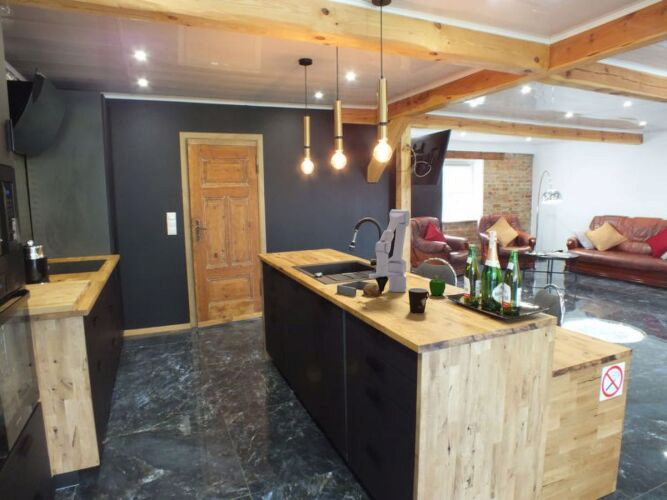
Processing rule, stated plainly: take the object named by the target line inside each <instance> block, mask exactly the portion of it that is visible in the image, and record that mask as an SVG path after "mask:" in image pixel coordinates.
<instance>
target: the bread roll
mask: <svg viewBox="0 0 667 500" xmlns="http://www.w3.org/2000/svg"><path fill="white" fill-rule="evenodd" d="M362 292H363V293H362V294H363V296H366V297H370V298H378V297H380V296H382V294H383V292H381V291H379V286H378V283H376V284H375V282H371V283H369V284H367V285H365V287H364V288H363V289H362Z"/></svg>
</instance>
